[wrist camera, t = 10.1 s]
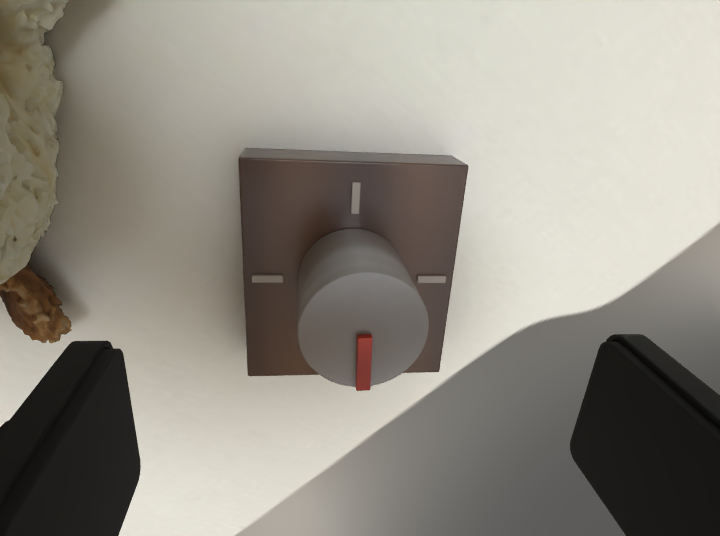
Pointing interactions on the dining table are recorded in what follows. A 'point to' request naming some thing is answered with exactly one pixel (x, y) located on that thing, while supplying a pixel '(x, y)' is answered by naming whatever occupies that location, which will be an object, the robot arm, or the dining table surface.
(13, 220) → the stuffed dog
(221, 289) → the dining table surface
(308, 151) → the dial panel
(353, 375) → the knob
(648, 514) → the robot arm
